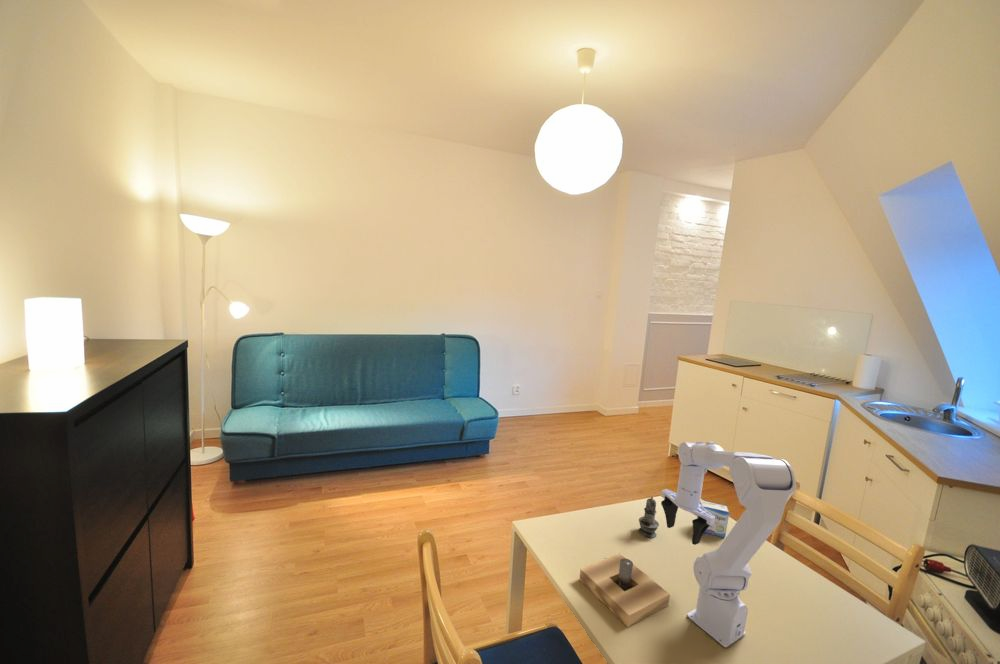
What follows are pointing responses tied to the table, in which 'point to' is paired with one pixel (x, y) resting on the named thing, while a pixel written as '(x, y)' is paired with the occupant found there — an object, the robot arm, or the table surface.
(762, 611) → the table surface
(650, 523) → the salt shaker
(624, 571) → the metal peg
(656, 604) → the oak hole block
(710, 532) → the medicine box
